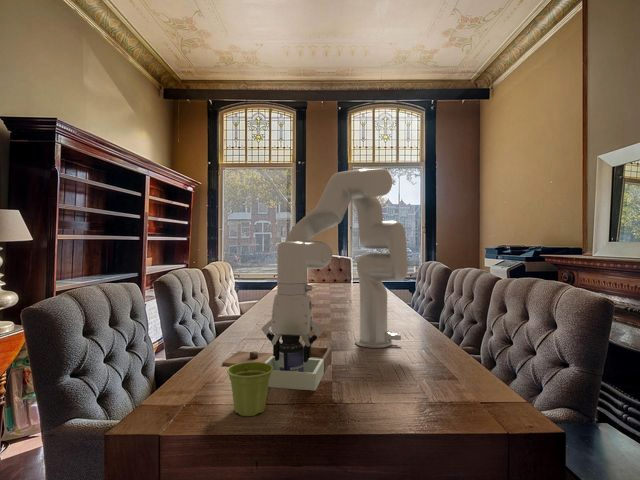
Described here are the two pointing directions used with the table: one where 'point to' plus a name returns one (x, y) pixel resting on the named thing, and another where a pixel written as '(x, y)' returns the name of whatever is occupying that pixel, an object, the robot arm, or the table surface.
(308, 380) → the sage box
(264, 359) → the walnut lid
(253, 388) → the plant pot
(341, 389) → the table surface
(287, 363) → the pill bottle
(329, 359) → the walnut box
